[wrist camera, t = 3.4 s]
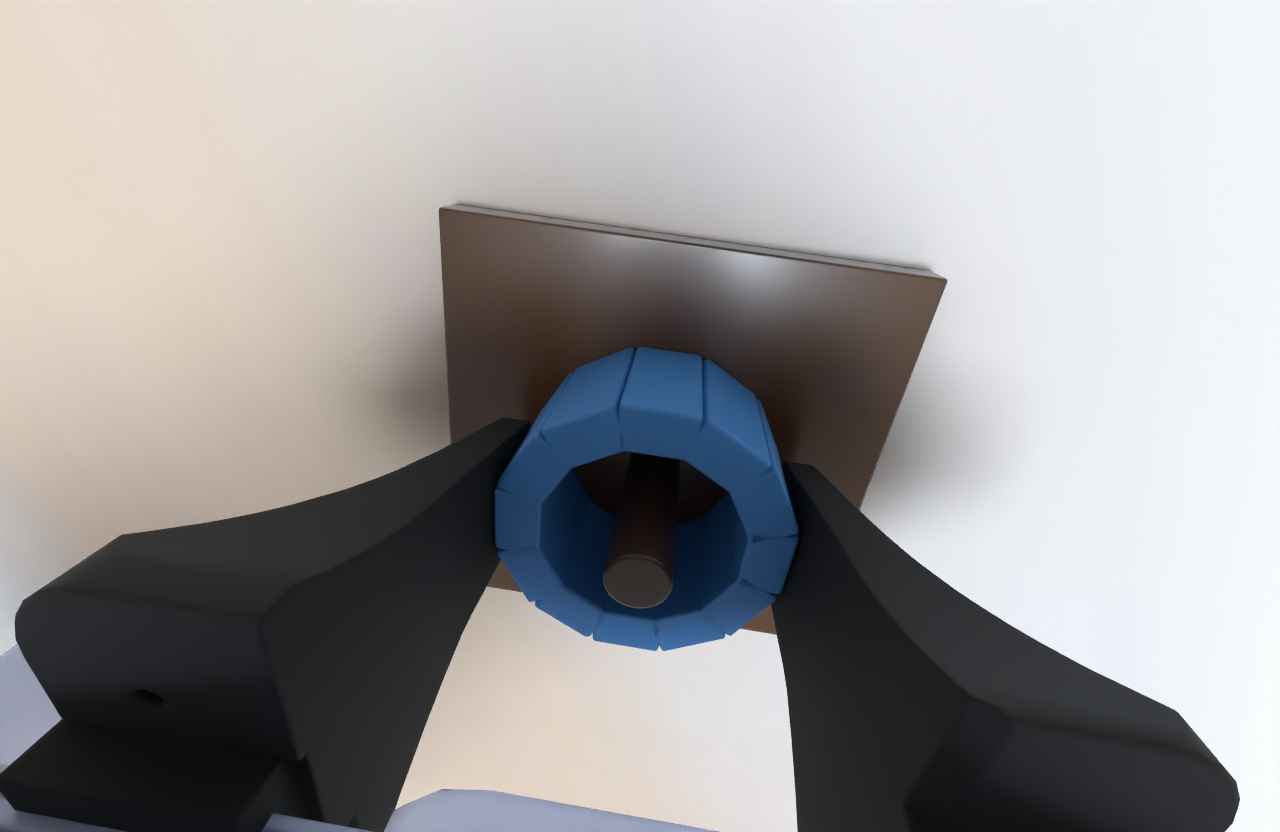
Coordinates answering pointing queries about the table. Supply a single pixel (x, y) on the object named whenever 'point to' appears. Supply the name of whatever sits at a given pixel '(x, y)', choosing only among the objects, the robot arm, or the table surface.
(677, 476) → the brown square board
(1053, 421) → the table surface
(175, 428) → the table surface
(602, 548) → the tape
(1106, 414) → the table surface
